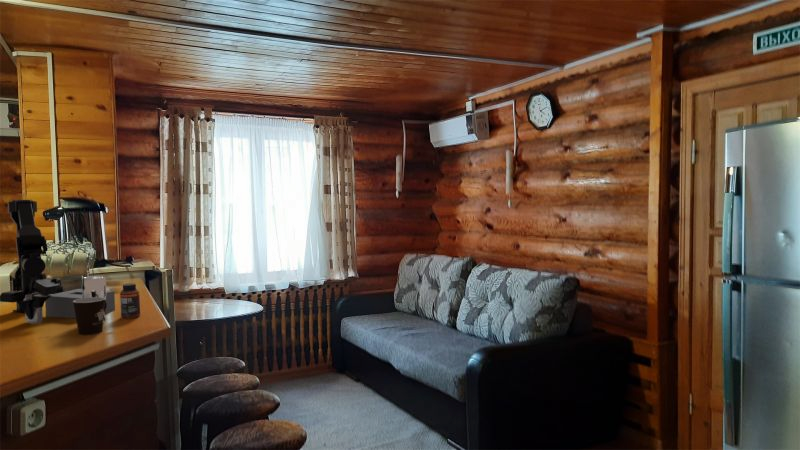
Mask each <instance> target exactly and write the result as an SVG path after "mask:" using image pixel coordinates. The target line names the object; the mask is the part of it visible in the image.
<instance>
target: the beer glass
mask: <svg viewBox="0 0 800 450" xmlns="http://www.w3.org/2000/svg"><path fill="white" fill-rule="evenodd" d="M81 289H82V296H83V298H89V297H103V298H105V300H106V290H107V282H106V276H105V275H89V276H85V277H82V281H81ZM105 314H106V313H104V319H103V324H105V323H106V322H107V319H106V315H105Z"/></svg>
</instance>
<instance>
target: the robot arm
mask: <svg viewBox="0 0 800 450" xmlns="http://www.w3.org/2000/svg"><path fill="white" fill-rule="evenodd" d="M7 212H8V214H9V215H10V219H11V220H12V221H13V223H14V224H15V226H16V227H15V228H16V237H15V249H16V251H17V252H16V253H17V261H18V267H17V268H16V270H15V272H14V273H13V277H12V279H11V290H9V291H4V292H1V294H0V302H2V303H16V308H15V309H12V312H16V313H24V315H25V314H26V315H27V317H28V318H29V319H30V320H32V319H33V307H42V308H43V307H44V305H45V301H46V300H47V299H48V298H49V297H51V295H52V294H56V293H61V292H64V286H63V285H62V280H61V278H59V277H54V278H52V279H47V275H46V273H43V272H44V271H45V269H46V263H45V261H44V259H43V258H42V255H47V252H48V242H47V239H46V238H45V236H44V235H42V230H41V229H40V228H39V227H37V226H36V222H35V216H36V214H35V213H37V212H38V202H37V201H35V200H32V199H11V201H8V202H7Z"/></svg>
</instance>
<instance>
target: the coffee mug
mask: <svg viewBox="0 0 800 450" xmlns="http://www.w3.org/2000/svg"><path fill="white" fill-rule="evenodd" d="M73 304H74V310H75V315H76V318H75V321H76V326H77V332H78V335H79V336H80V335H81V336H90V335H96V334H100V333H102V332H103V327H104V323H103V319H104V314H105V313H104V312H105V310H106V306H107V304H106V301H105V298H103V297H89V298H81V299H77V300H74V301H73Z"/></svg>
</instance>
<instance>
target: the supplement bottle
mask: <svg viewBox="0 0 800 450" xmlns="http://www.w3.org/2000/svg"><path fill="white" fill-rule="evenodd" d="M140 299H141V298H140V290H139V289H137V285H136V283H132V282H131V283H130V282H129V283H123V284H122V290H121V291H120V293H119V301H120V302H119V303H120V316H121V318H122V319H125V318H126V319H127V318H129V319H135V317H136V318H139V317H141V302H140ZM127 320H128V319H127Z"/></svg>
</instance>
